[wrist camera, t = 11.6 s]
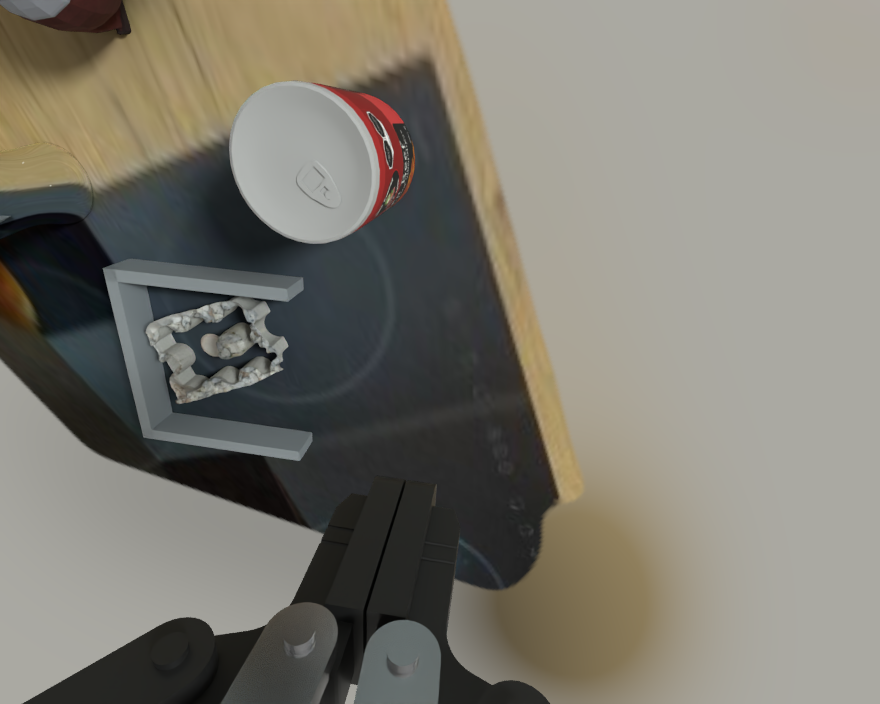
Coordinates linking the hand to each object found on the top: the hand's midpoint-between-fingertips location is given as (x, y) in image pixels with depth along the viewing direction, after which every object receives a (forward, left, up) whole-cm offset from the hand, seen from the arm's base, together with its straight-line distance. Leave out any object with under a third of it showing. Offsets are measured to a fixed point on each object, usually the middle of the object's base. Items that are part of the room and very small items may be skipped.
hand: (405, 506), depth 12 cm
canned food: (-6, -9, -27) cm, 29 cm away
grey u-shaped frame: (+11, -21, -27) cm, 36 cm away
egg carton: (+10, -21, -27) cm, 36 cm away
